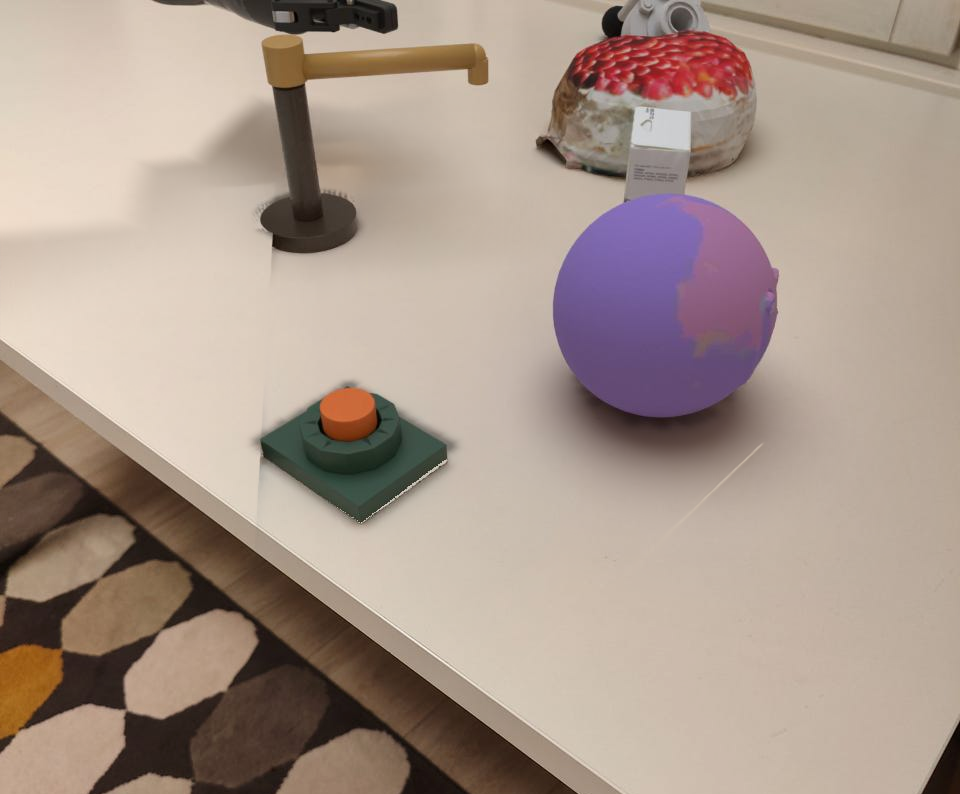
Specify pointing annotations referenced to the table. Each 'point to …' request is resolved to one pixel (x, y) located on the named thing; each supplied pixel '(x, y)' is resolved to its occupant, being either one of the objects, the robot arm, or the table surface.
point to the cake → (653, 99)
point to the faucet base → (304, 186)
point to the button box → (354, 458)
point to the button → (348, 414)
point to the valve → (654, 18)
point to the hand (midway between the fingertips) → (391, 19)
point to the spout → (366, 61)
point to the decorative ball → (665, 305)
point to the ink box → (658, 153)
